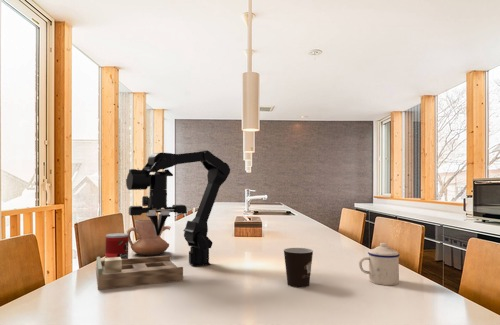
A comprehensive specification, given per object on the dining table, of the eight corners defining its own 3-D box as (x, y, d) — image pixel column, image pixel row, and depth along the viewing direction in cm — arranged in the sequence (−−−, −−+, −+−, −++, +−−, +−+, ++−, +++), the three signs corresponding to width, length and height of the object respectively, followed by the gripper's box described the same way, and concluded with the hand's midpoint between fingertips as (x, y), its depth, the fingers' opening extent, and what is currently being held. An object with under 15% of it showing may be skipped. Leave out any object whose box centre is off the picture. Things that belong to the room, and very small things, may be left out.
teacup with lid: (393, 278, 117) (393, 241, 118) (404, 286, 108) (403, 246, 109) (355, 277, 118) (355, 240, 118) (363, 285, 109) (362, 245, 109)
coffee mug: (294, 290, 103) (294, 254, 104) (278, 282, 111) (278, 249, 112) (327, 285, 109) (327, 250, 109) (309, 278, 116) (309, 246, 117)
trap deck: (169, 266, 131) (169, 251, 131) (182, 280, 112) (183, 262, 113) (96, 273, 121) (96, 256, 121) (97, 289, 103) (98, 269, 103)
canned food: (120, 268, 128) (121, 236, 129) (100, 267, 130) (101, 235, 131) (132, 263, 136) (132, 233, 137) (112, 262, 138) (113, 232, 138)
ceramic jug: (172, 250, 163) (172, 217, 163) (169, 256, 148) (168, 220, 149) (130, 251, 161) (130, 218, 161) (122, 258, 146) (122, 222, 147)
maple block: (120, 271, 113) (120, 256, 113) (121, 275, 109) (121, 259, 109) (104, 273, 111) (104, 258, 111) (105, 276, 107) (105, 261, 107)
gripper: (179, 188, 137) (179, 230, 137) (127, 189, 130) (126, 233, 129) (187, 189, 127) (187, 234, 127) (130, 190, 120) (130, 238, 119)
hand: (157, 235), depth 126 cm, fingers closed
